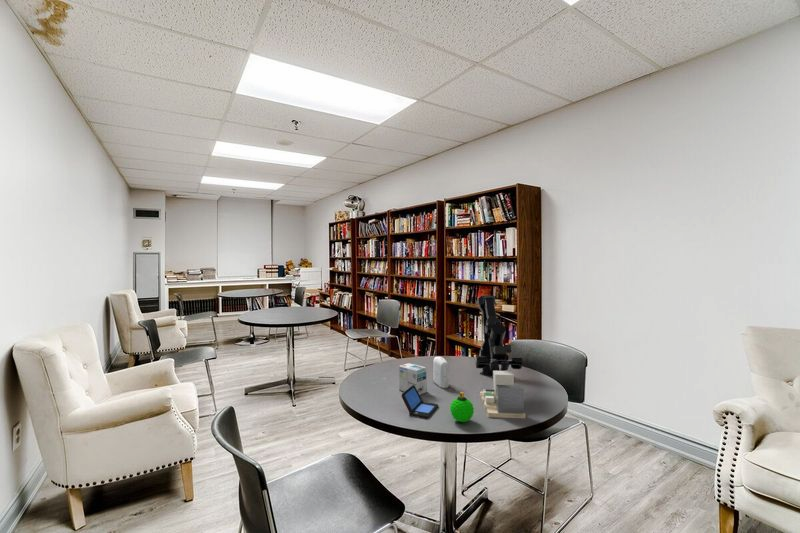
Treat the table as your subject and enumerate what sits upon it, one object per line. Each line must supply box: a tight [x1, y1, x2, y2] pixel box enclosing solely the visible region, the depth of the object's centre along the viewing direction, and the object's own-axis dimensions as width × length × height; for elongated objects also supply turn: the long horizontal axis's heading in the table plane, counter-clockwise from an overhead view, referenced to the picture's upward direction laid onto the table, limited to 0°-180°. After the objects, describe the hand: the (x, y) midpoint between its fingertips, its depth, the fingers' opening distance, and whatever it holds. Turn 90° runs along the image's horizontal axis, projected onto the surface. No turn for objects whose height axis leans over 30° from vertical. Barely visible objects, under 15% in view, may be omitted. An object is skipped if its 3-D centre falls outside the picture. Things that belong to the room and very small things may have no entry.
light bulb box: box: [398, 362, 428, 395], centre depth 154 cm, size 11×7×11 cm, turn 47°
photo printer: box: [432, 356, 450, 389], centre depth 162 cm, size 10×4×12 cm, turn 17°
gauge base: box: [479, 389, 527, 419], centre depth 138 cm, size 22×13×4 cm, turn 175°
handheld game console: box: [401, 385, 439, 420], centre depth 134 cm, size 12×11×7 cm
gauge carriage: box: [485, 370, 515, 400], centre depth 140 cm, size 8×10×10 cm
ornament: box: [449, 391, 475, 423], centre depth 124 cm, size 8×8×10 cm
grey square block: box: [496, 384, 525, 413], centre depth 129 cm, size 3×9×9 cm, turn 85°
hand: (501, 381), depth 143 cm, fingers closed, pressing on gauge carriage
